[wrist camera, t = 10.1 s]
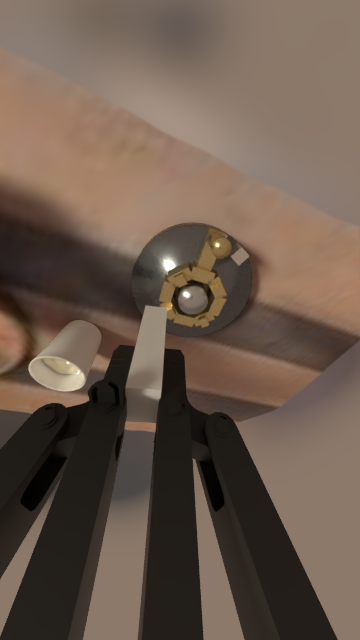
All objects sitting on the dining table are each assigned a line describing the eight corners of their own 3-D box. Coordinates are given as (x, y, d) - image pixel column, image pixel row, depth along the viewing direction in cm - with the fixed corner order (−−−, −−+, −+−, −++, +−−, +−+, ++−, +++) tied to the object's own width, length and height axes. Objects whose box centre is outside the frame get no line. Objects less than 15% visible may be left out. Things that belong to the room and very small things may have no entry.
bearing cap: (127, 315, 42) (119, 336, 36) (146, 203, 30) (138, 207, 24) (219, 337, 46) (225, 358, 40) (269, 245, 34) (288, 257, 28)
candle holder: (113, 342, 46) (96, 384, 37) (80, 353, 48) (55, 396, 38) (88, 311, 41) (60, 350, 31) (52, 324, 43) (15, 365, 33)
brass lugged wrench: (208, 322, 39) (213, 346, 33) (155, 308, 37) (151, 332, 31) (248, 239, 30) (266, 253, 24) (181, 216, 28) (182, 224, 22)
